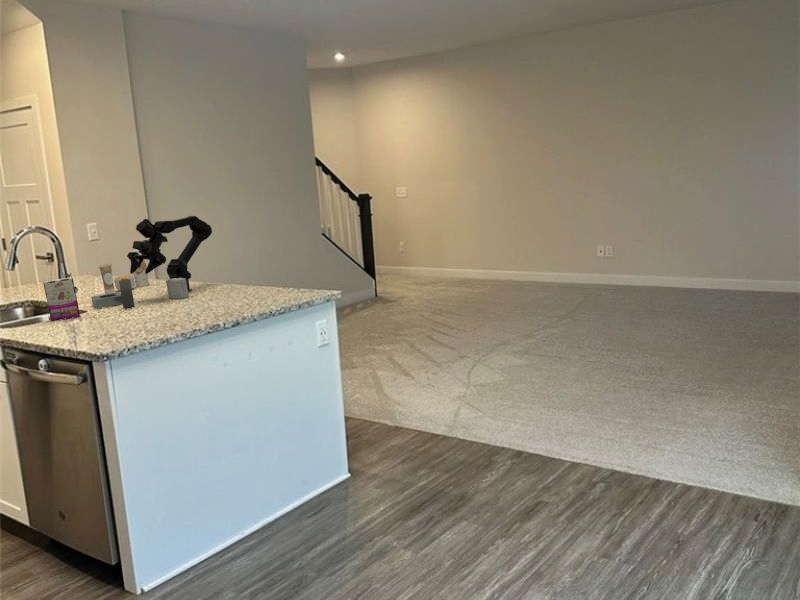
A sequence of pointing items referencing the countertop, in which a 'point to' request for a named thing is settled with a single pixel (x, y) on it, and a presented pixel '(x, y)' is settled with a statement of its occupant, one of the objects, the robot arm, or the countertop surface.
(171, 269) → the robot arm
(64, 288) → the candy bar box
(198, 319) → the countertop surface
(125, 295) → the grey upright block
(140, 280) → the cosmetic set
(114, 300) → the housing
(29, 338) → the countertop surface
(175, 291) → the medicine box
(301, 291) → the countertop surface
